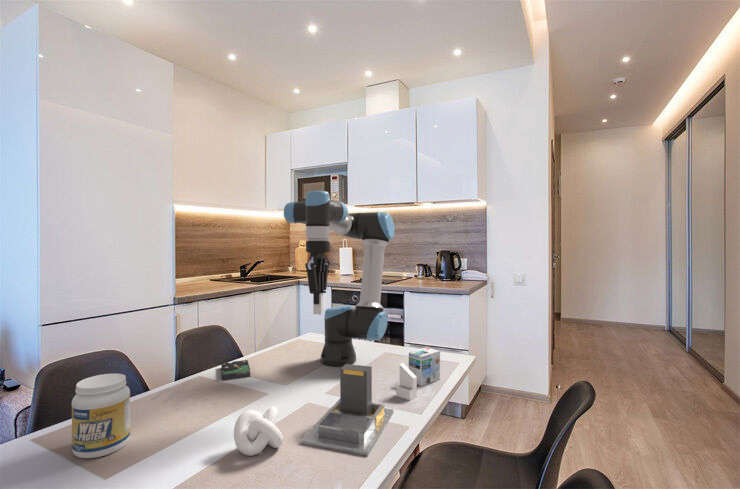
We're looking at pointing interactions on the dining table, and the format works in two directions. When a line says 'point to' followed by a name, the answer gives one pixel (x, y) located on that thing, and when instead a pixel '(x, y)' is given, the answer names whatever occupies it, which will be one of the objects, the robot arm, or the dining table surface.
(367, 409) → the grey block
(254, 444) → the white knot
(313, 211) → the robot arm
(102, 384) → the supplement tub
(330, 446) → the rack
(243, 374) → the disk drive
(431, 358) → the light bulb box
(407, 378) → the white wedge bracket
